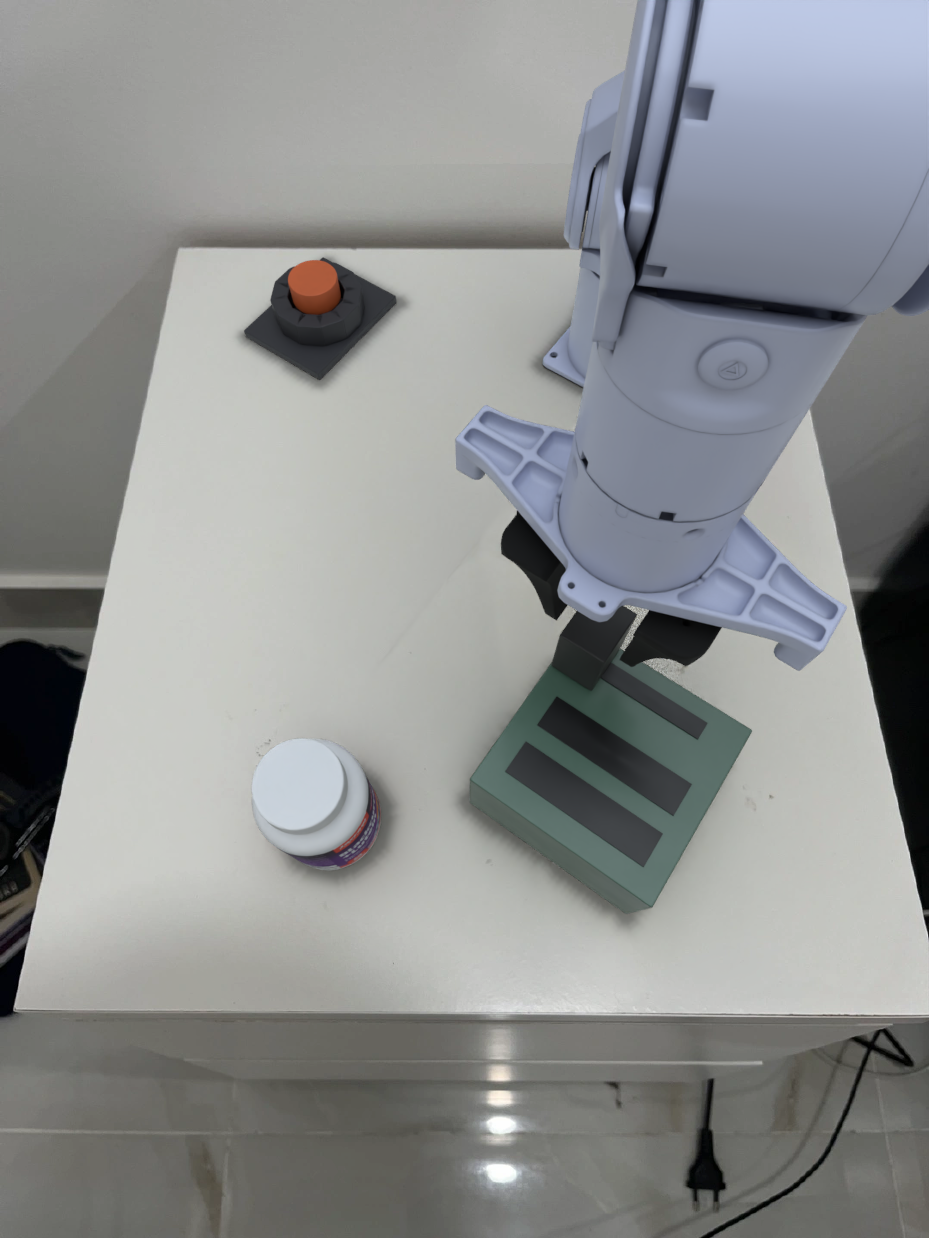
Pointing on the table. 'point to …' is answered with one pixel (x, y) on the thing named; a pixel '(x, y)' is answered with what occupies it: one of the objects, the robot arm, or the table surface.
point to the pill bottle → (315, 803)
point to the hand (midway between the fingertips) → (599, 623)
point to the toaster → (609, 776)
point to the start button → (314, 287)
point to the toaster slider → (591, 645)
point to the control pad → (319, 323)
